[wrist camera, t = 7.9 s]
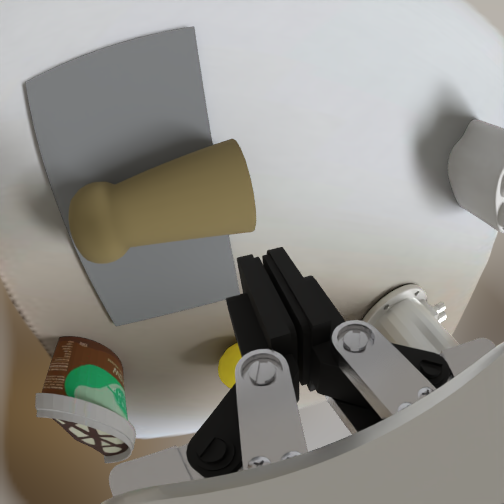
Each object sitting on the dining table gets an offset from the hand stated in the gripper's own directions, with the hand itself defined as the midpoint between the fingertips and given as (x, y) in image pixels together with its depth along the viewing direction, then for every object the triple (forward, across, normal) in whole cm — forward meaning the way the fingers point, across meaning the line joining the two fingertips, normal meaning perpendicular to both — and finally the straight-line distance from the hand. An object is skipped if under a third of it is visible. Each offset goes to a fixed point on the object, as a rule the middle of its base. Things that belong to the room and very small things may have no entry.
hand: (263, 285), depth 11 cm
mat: (+12, +6, -1) cm, 13 cm away
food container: (+12, +16, +15) cm, 25 cm away
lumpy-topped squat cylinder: (+13, -32, +2) cm, 35 cm away
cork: (+9, -1, -1) cm, 9 cm away
